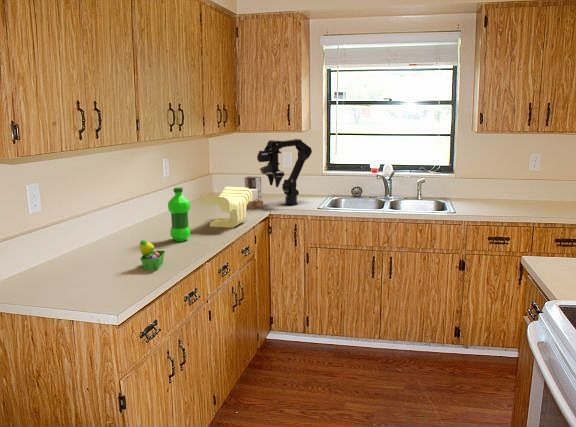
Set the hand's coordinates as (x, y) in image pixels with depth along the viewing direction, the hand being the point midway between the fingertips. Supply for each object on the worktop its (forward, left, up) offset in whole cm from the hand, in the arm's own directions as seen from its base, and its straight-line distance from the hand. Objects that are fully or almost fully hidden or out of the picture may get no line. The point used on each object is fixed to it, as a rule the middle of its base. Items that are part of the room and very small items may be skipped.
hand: (274, 186), depth 328 cm
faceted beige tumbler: (+12, -6, -9) cm, 16 cm away
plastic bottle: (+71, +54, -13) cm, 90 cm away
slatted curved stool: (+40, +33, -13) cm, 54 cm away
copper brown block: (+12, -6, -13) cm, 19 cm away
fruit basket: (+91, +91, -13) cm, 129 cm away
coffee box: (+5, -24, -13) cm, 28 cm away
